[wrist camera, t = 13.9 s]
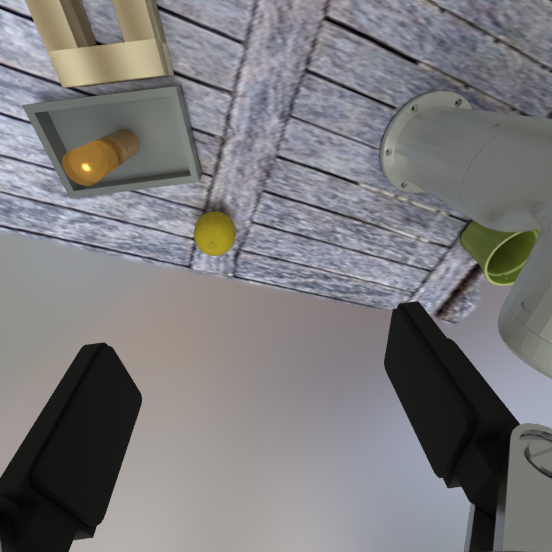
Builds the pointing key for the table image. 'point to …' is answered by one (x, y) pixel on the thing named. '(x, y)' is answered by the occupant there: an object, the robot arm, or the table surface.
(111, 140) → the pin
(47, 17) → the pin block
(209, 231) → the lemon
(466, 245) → the plant pot
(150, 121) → the tray
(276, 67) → the table surface
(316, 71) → the table surface
